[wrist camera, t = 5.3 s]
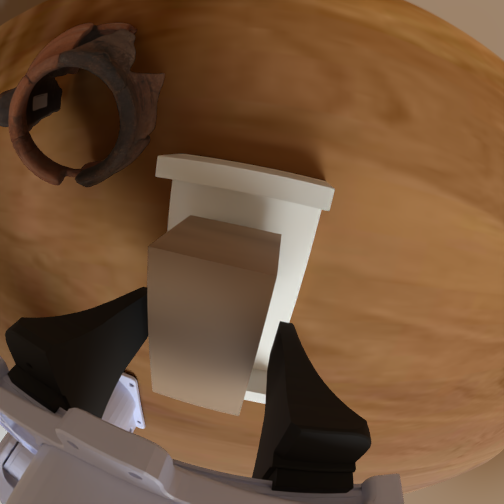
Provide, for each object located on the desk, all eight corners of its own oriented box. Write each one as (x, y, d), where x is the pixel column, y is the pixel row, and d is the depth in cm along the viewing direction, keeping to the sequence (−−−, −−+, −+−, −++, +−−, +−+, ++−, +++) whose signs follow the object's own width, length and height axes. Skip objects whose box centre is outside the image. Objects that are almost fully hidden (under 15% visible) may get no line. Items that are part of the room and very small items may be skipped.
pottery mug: (183, 10, 12) (152, 7, 6) (180, 135, 19) (161, 205, 13) (27, 45, 10) (-50, 83, 5) (45, 148, 17) (-6, 214, 12)
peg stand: (270, 373, 19) (266, 403, 17) (167, 347, 20) (152, 373, 17) (325, 181, 14) (334, 189, 11) (181, 153, 14) (157, 155, 12)
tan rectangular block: (250, 358, 16) (238, 416, 12) (180, 340, 16) (152, 391, 12) (281, 234, 13) (276, 276, 9) (190, 214, 13) (148, 246, 9)
